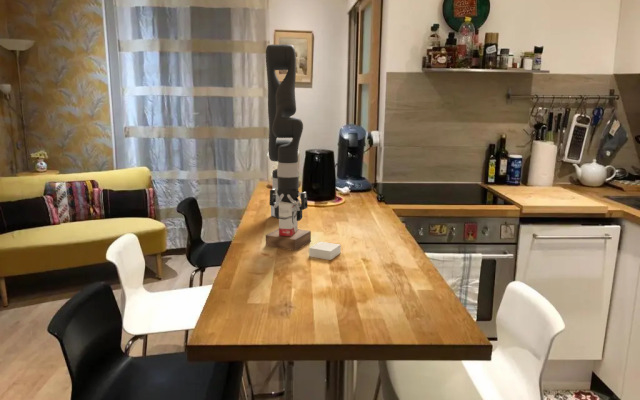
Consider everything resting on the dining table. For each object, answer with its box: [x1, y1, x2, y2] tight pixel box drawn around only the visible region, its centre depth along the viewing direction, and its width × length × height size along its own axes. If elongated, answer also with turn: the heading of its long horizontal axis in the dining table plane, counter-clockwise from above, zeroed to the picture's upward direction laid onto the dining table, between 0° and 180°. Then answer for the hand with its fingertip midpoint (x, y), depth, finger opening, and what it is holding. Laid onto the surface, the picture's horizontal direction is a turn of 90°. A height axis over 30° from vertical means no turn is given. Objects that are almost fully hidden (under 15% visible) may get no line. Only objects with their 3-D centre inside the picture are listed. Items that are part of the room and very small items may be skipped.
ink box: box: [278, 201, 299, 236], centre depth 185 cm, size 9×5×12 cm, turn 167°
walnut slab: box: [265, 228, 312, 251], centre depth 187 cm, size 12×12×4 cm
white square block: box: [308, 241, 342, 261], centre depth 176 cm, size 8×8×3 cm
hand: (288, 218), depth 185 cm, fingers open, 8 cm apart
